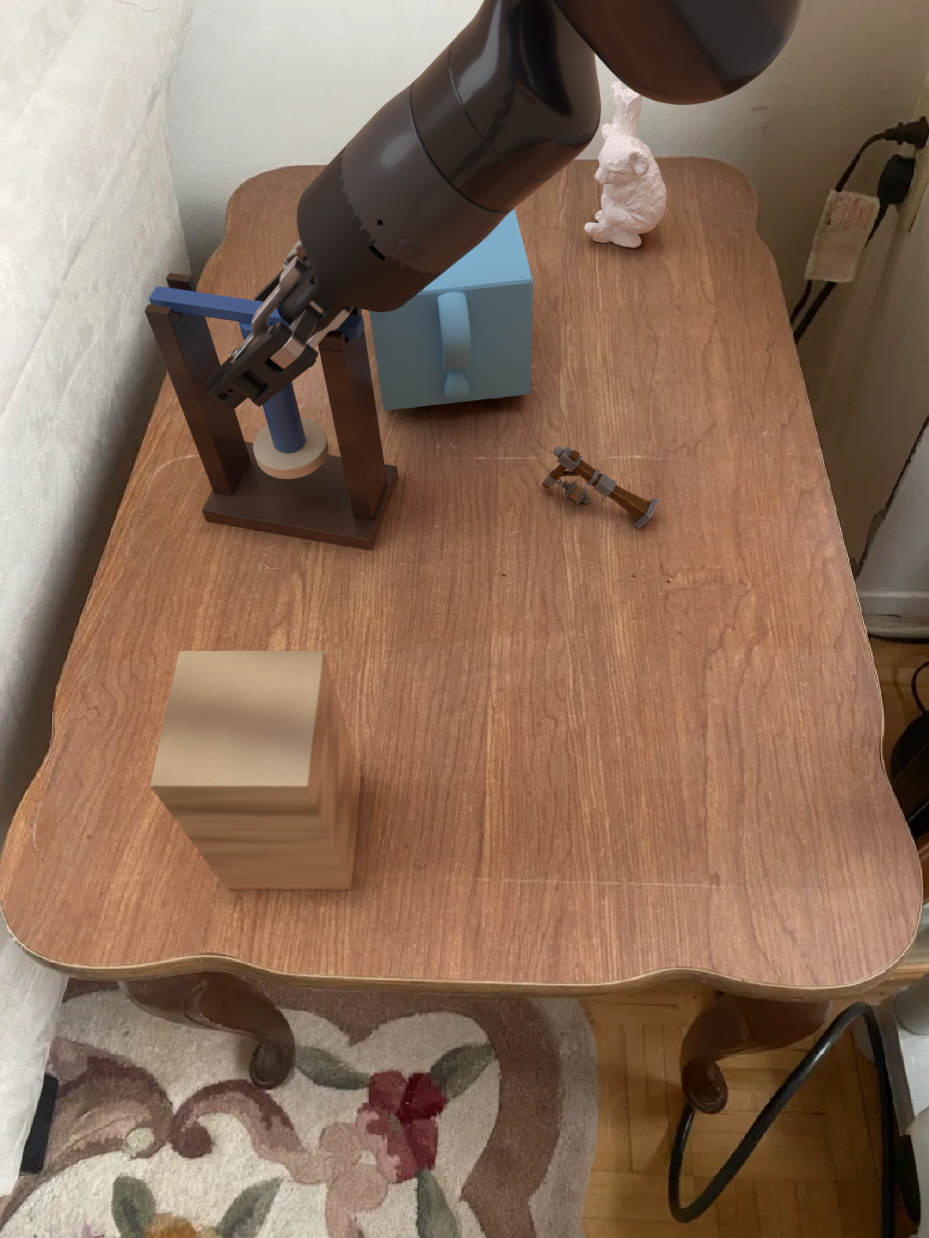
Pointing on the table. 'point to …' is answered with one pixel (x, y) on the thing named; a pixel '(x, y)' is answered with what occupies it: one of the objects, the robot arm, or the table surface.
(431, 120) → the robot arm
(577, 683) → the table surface
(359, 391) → the stand
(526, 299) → the teapot
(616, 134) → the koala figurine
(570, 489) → the hanging lantern post
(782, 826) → the table surface
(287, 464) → the bar
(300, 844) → the riser
